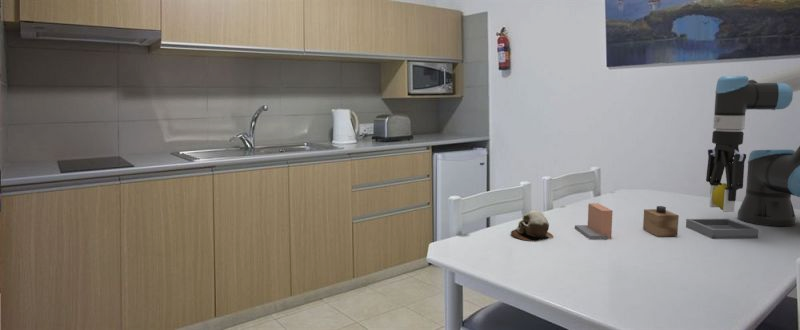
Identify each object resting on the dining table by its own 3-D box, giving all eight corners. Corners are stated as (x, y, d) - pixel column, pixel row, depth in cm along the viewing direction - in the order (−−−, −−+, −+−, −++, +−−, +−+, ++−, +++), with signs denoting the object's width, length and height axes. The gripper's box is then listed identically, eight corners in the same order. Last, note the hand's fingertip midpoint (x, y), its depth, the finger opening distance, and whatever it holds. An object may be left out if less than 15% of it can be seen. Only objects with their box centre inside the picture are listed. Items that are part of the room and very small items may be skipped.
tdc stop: (595, 228, 155) (597, 202, 154) (612, 239, 143) (614, 211, 142) (574, 228, 155) (575, 202, 154) (589, 239, 143) (591, 211, 142)
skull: (499, 230, 150) (518, 203, 152) (520, 250, 154) (537, 222, 156) (526, 239, 139) (546, 209, 141) (547, 259, 143) (566, 230, 145)
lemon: (737, 212, 145) (739, 185, 144) (715, 211, 146) (718, 184, 145) (728, 208, 151) (731, 181, 150) (708, 207, 152) (710, 181, 151)
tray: (727, 226, 156) (728, 218, 156) (757, 238, 143) (758, 229, 143) (685, 226, 156) (686, 218, 156) (712, 238, 143) (712, 229, 143)
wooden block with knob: (662, 228, 153) (664, 204, 152) (677, 235, 145) (679, 209, 144) (643, 228, 153) (644, 204, 152) (656, 235, 145) (658, 210, 144)
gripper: (696, 128, 155) (690, 202, 158) (736, 132, 136) (729, 216, 139) (720, 128, 155) (714, 202, 158) (764, 132, 136) (756, 216, 139)
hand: (721, 209), depth 149 cm, fingers closed on lemon, 5 cm apart
